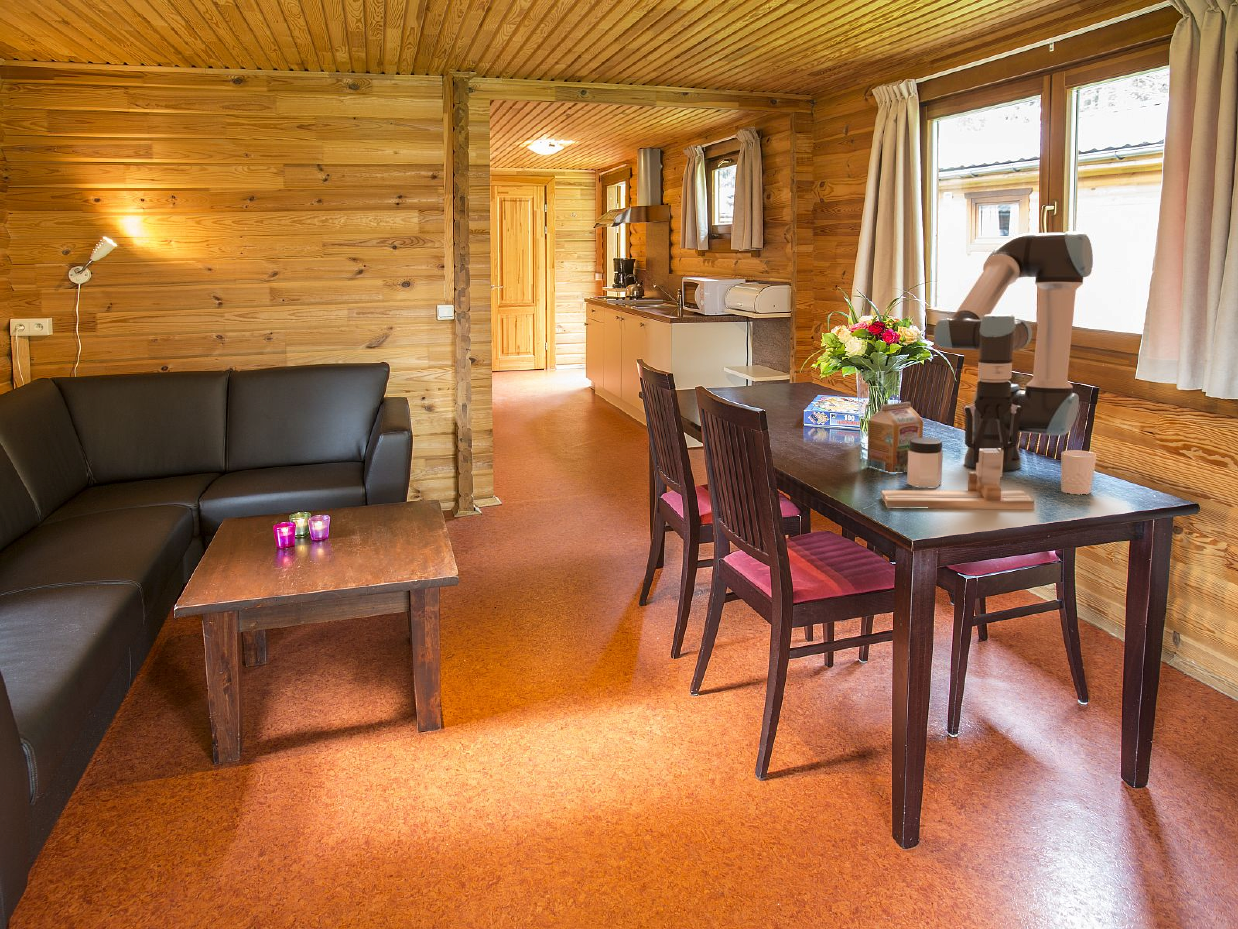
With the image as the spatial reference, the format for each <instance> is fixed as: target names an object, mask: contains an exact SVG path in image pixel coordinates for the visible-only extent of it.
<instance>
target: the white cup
mask: <svg viewBox="0 0 1238 929" xmlns="http://www.w3.org/2000/svg"><path fill="white" fill-rule="evenodd" d="M1060 456H1061V458H1060V461H1061V462H1060V481H1061V484H1060V486H1061V487H1060V490H1061V492H1062V493H1064V494H1067V493H1070V494H1069V495H1073V494H1077V495H1076V496H1083V495H1082V494H1086V495H1089V493H1090V494H1091V492H1092V483H1093V480H1094V475H1095V467H1096V460H1097V454H1096V453H1095V452H1092V451H1086V450H1080V449H1079V450H1076V449H1075V450H1074V449H1070V450H1064V451H1062V452H1061V455H1060ZM1080 494H1081V495H1080Z"/></svg>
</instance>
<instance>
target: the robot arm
mask: <svg viewBox="0 0 1238 929" xmlns="http://www.w3.org/2000/svg"><path fill="white" fill-rule="evenodd" d="M1093 257H1094V256H1093V248H1092V243H1091V240H1090V237H1089V235H1087V234H1086V233H1085V232H1082V231H1069V230H1067V231H1058V232H1057V231H1053V232H1040V233H1039V232H1037V233H1036V232H1035V233H1033V232H1029V233H1023V234H1019V235H1017V236H1014V237H1012V238H1010V239H1009V240H1006V241H1005V242H1004V243H1002V244H1000V245H999V246H998V247H997V248H995V249H994V250H993V251H992V252H991V254H989V256H988V257H987V258H986V259H985V262H984V264H983V268H982V269H983V270H982V273H981V275H979V277H978V279H977V280H976V282H975V283H974V284H973V286H972V288H971V289H970V290H969V293H968V294H967V295H966V297H965V298H964V300H963V302H962V303H961V304H960V306H959V307H958V309H957V310H956V312H955V313H954V315H953V316H952V318H949V317H947V318H941V319H939V320H938V321H937V322H936V323H935V327H934V329H933V339H934V343H935V345H936V346H937V347H938V348H940V349H950V350H975V351H976V350H977V351H978V363H977V364H978V366H977V378H978V380H977V382H976V390H975V392H974V400H973V403H972V404H970V405H968V406H967V405H964V406H963V407H962V410H963V414H964V415H965V418H964V422H965V423H964V444H965V446H966V447H967V450H966V453H965V454H964V463H963V464H964V465H965V467H968V468H971V469H975V472H976V475H977V476H978V477H982V460H983V450H982V449H984V448H996V449H998V450H999V451H1000V452H1001V453H1002V454H1001V471H1000V478H1002V477H1003V472H1006V471H1015V470H1018V469H1021V467H1022V458H1021V457H1022V456H1021V454H1020V453H1021V452H1020V449H1019V446H1018V436H1019V433H1026V434H1027V433H1028V434H1038V435H1047V437H1048V436H1064V435H1066V434H1069V432H1070V431H1071V429H1072V428H1073V426H1074V424H1075V421H1076V419H1077V415H1078V410H1079V408H1080V407H1079V406H1080V401H1079V400H1080V398H1079V397H1080V396H1079V395H1078V393H1075V392H1073V389H1074V387H1073V385H1072V384H1071V382H1069V380H1068V376H1069V375H1068V374H1069V366H1070V364H1069V363H1070V356H1071V355H1070V354H1071V345H1072V333H1073V325H1074V324H1073V322H1074V313H1075V303H1076V302H1075V300H1076V294H1077V293H1076V292H1077V290H1078V289H1079V288H1080V287H1081V286H1083V284H1084V278H1086V277H1089V276H1090V275H1091V274H1092V269H1093V264H1094V263H1093V261H1094V260H1093V259H1094V258H1093ZM1021 278H1035V281H1034V282H1035V285H1036V287H1038V289H1039V292H1040V294H1039V305H1038V306H1039V307H1038V315H1037V329H1036V338H1035V350H1034V361H1033V371H1032V372H1033V373H1032V378H1031V380H1030V381H1028V382H1027V383H1026V385H1025V390H1021V387H1020V385H1019V384H1017V383H1012V382H1011V381H1010V380H1011V379H1012V375H1013V359H1014V351H1015V352H1017V351H1019V350H1022V349H1023V348H1025V347H1027V345H1029V343H1030V342H1031V340H1032V338H1033V330H1032V327H1031V325H1030V324H1029V323H1028V322H1027V321H1025V320H1023V319H1019V318H1015V316H1014V315H1013V314H1010V313H1009V314H1007V313H992V312H993V311H994V309H995V307H996V306H997V304H998V303H999V301H1000V300H1001V298H1002V296H1003V295H1004V293H1005V292H1006V290H1007V288H1008V287H1009V286H1010V285H1012V284H1014V283H1015V282H1016V281H1017V280H1018V279H1021Z"/></svg>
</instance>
